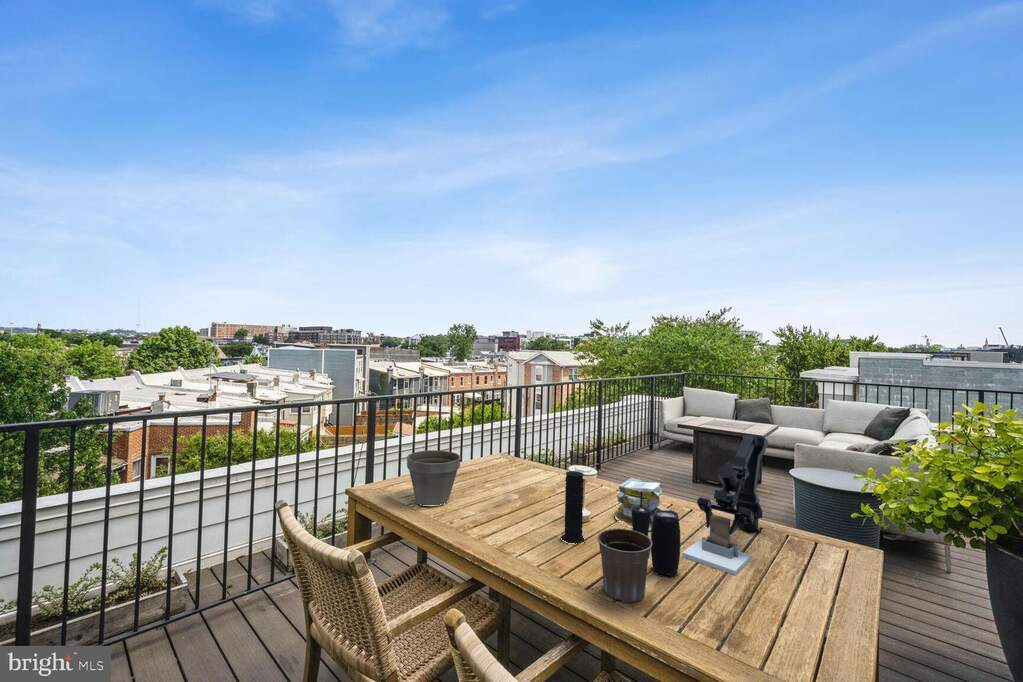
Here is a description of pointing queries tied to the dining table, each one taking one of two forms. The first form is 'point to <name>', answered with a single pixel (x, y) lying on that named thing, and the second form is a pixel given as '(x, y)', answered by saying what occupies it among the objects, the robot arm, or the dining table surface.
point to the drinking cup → (641, 517)
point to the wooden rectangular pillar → (720, 531)
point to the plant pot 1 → (433, 475)
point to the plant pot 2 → (624, 563)
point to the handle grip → (573, 507)
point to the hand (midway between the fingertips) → (718, 530)
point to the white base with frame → (717, 556)
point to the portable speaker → (665, 542)
